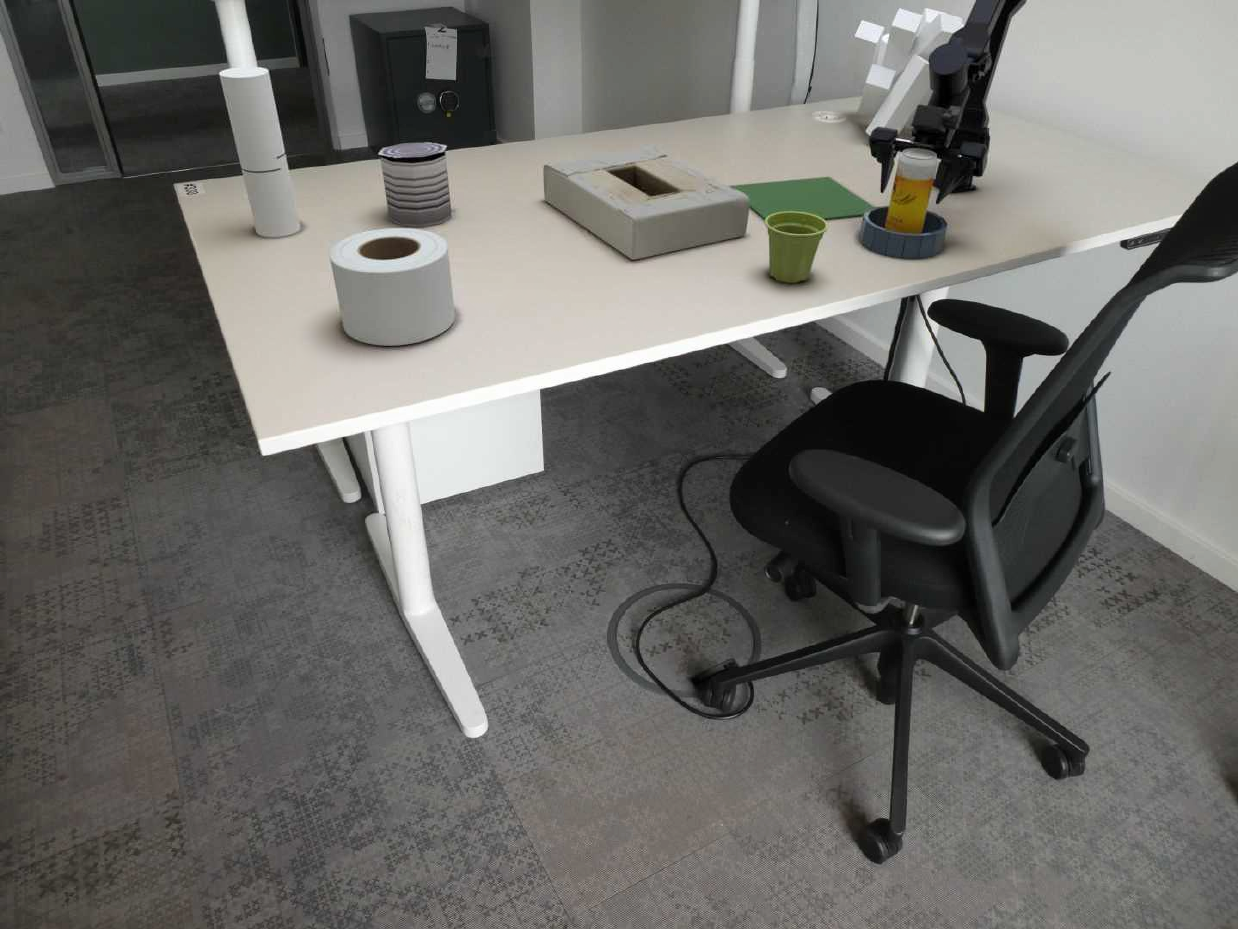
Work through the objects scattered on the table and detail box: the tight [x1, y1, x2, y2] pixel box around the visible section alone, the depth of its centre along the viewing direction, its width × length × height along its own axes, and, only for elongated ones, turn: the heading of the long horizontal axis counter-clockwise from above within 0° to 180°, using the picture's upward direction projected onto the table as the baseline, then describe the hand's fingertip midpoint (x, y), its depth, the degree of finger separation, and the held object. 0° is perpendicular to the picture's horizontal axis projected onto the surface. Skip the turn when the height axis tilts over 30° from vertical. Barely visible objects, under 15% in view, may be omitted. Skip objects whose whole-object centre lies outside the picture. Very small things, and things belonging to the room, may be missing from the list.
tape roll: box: [329, 227, 456, 347], centre depth 120 cm, size 16×15×11 cm
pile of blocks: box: [846, 7, 965, 136], centre depth 195 cm, size 35×30×35 cm
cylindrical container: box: [218, 66, 301, 238], centre depth 142 cm, size 7×7×25 cm
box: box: [542, 145, 750, 261], centre depth 155 cm, size 23×8×32 cm
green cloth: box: [728, 176, 875, 221], centre depth 165 cm, size 22×20×1 cm
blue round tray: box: [858, 204, 949, 260], centre depth 149 cm, size 14×14×4 cm
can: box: [377, 141, 452, 228], centre depth 152 cm, size 11×11×12 cm
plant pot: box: [764, 211, 829, 284], centre depth 135 cm, size 9×9×9 cm
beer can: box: [885, 148, 939, 234], centre depth 145 cm, size 6×6×15 cm
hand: (908, 197), depth 144 cm, fingers open, 9 cm apart
